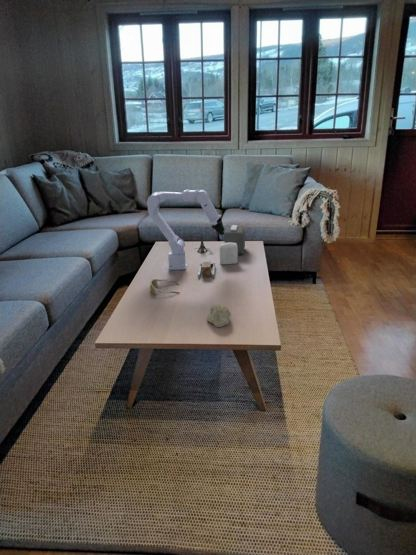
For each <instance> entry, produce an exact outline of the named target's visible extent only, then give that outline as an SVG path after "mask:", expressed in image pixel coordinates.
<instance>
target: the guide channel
mask: <svg viewBox="0 0 416 555" xmlns="http://www.w3.org/2000/svg"><path fill="white" fill-rule="evenodd" d="M211 270H212V271H211V275H212V277H211V278H212V279H213V278H214V279H215V272H216V263H213V262H211ZM201 277H202V263H199V269H198V273H197V278H198V279H201Z"/></svg>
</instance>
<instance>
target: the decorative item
mask: <svg viewBox="0 0 416 555" xmlns="http://www.w3.org/2000/svg"><path fill="white" fill-rule="evenodd" d="M231 316H232V313H231V311H230V310H229V308H227V306H225V305H223V304H215V305H211V306H210V308H209V310H208V313H207V314H206V321H208V322H209V323H212V324H213V325H214V326H215V327H217V328H221V327H224V326H226V325H228V324H229V322H230V321H231Z"/></svg>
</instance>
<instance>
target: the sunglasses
mask: <svg viewBox="0 0 416 555" xmlns="http://www.w3.org/2000/svg"><path fill="white" fill-rule="evenodd" d="M158 282H168V283H173V284H175V285H178V286H179V285H181V283H178V282H176V281H174V280H169V279H159V278H158V279H157V278H153V279H151V280H150V285H149V289H150V292H151V293H152V294H153V295H154V294H155V296H158V293H166V294H167V293H168V294H170V293H171V294H180V293H181V292H180V291H179V292H178V291H170V290H169V291H168V290H167V291H166V290H161V289H157V288H156V287H158ZM155 286H156V287H155Z"/></svg>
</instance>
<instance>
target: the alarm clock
mask: <svg viewBox="0 0 416 555" xmlns="http://www.w3.org/2000/svg"><path fill="white" fill-rule="evenodd" d="M223 235H224V239H223V240H224V243H229V242H231V243H236V244H237V247H238V256H239V255H242V254H243V253H244V252H245V251H244V250H245V246H246V231H245V228H244V226H238V225H237V224H231V226H226V227H225V229H224V234H223Z"/></svg>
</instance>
